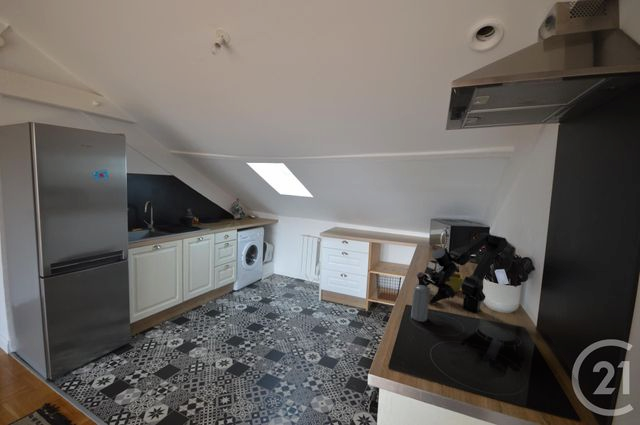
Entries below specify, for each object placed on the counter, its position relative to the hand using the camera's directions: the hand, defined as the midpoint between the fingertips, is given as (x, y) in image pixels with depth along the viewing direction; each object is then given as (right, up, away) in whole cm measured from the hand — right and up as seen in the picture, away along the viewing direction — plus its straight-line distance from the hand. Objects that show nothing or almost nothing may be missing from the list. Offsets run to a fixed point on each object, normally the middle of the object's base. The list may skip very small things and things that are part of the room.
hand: (423, 298), depth 124 cm
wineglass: (+15, -7, +29) cm, 34 cm away
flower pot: (+30, -7, +36) cm, 48 cm away
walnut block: (+11, -8, +19) cm, 23 cm away
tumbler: (-2, -9, +1) cm, 9 cm away
